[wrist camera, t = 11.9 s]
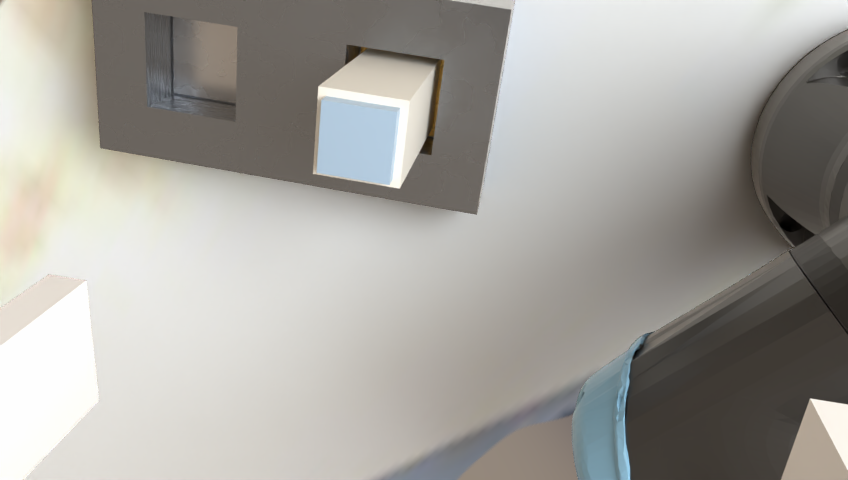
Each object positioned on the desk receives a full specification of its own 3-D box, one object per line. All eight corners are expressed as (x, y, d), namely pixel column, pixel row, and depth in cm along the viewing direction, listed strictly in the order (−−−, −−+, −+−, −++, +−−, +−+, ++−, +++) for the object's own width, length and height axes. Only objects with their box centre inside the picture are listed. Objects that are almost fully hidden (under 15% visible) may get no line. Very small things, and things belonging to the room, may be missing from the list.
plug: (441, 57, 45) (406, 104, 34) (432, 127, 47) (396, 194, 36) (370, 46, 45) (313, 90, 35) (363, 116, 47) (308, 179, 36)
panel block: (515, 0, 44) (511, 9, 40) (482, 189, 49) (476, 214, 45) (129, -59, 46) (88, -55, 42) (136, 128, 51) (100, 147, 47)
